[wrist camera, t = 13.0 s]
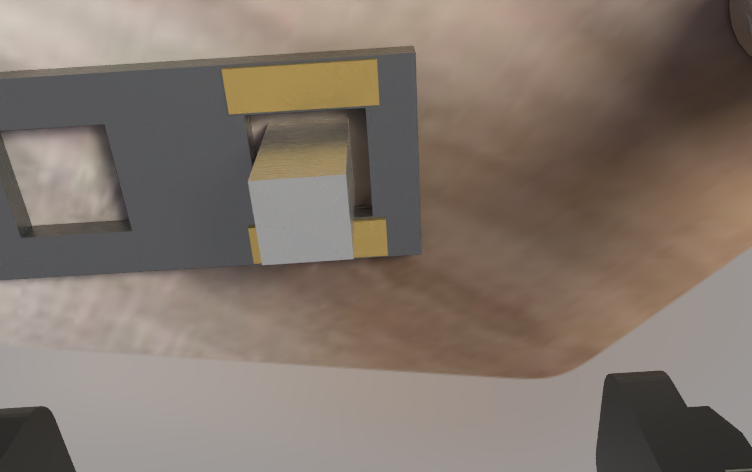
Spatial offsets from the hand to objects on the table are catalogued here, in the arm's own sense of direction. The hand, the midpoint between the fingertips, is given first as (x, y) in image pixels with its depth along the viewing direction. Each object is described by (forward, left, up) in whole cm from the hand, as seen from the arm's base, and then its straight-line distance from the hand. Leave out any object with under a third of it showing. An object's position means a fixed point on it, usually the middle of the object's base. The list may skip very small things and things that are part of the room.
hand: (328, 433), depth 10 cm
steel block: (+3, +7, -29) cm, 30 cm away
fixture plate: (+10, +7, -29) cm, 32 cm away
